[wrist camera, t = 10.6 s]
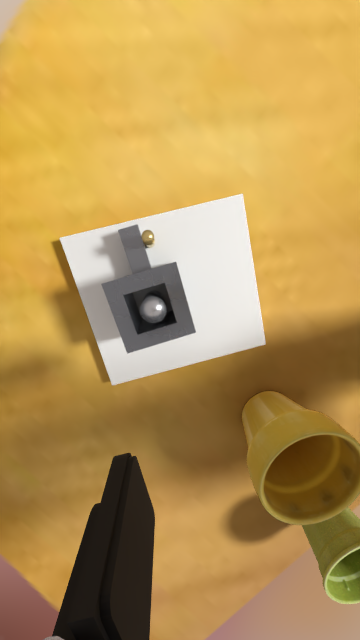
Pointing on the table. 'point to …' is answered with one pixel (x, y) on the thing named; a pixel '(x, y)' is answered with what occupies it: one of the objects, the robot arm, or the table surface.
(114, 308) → the grey socket block
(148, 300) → the steel post
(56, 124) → the table surface
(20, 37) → the table surface
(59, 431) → the table surface
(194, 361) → the board
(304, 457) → the plant pot
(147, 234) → the brass dowel
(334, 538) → the plant pot
